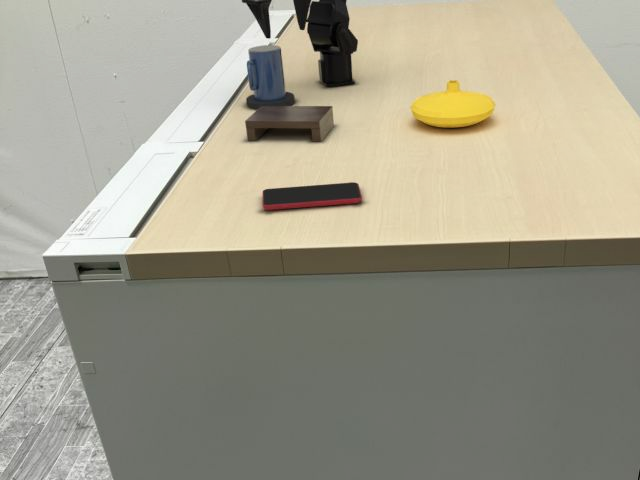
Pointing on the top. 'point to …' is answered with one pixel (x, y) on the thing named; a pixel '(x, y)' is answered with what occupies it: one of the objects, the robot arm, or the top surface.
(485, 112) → the vase
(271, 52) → the mug
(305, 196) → the smartphone
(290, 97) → the coaster
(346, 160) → the top surface
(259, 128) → the shelf
